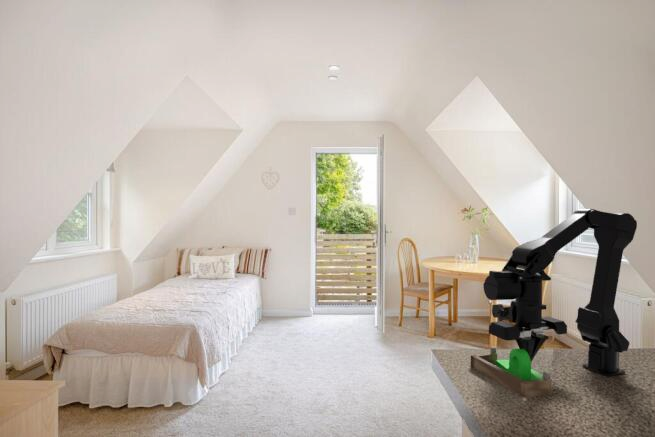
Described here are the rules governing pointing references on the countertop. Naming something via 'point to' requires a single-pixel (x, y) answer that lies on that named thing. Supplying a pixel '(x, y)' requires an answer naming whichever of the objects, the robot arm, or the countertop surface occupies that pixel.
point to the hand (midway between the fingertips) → (527, 363)
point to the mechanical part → (519, 365)
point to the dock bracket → (510, 376)
